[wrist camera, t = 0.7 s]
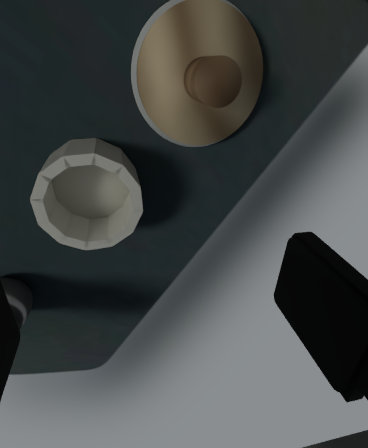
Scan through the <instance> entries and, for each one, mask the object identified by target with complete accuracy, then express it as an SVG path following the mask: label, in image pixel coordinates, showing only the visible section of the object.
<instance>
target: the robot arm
mask: <svg viewBox="0 0 368 448" xmlns="http://www.w3.org/2000/svg"><path fill="white" fill-rule="evenodd" d="M274 300H275V302H276V304H277V306H278V307H279V309H280V310H281V312H282V313H283V315H284V316H285V318H286V319H287V321H288V322H289V323H290V325H291V327H292V328H293V330H294V331H295V333H296V334H297V336H298V337H299V338H300V340H301V341H302V343H303V344H304V346H305V347H306V349H307V350H308V352H309V353H310V355H311V356H312V358H313V359H314V361H315V362H316V364H317V365H318V367H319V368H320V370H321V371H322V373H323V374H324V375H325V377H326V378H327V380H328V382H329V383H330V384H331V386H332V387H333V388H334V390H336V391H337V392H340V393H341V395H342V396H343V398H344V399H345V401H346V402H350V401H355V400H358V399H362V398H363V396H365V397H366V399H367V400H368V280H367V279H366V278H365V277H364V276H363V275H362V274H360V273H359V272H358V271H357V270H356V269H355V268H354V267H352V266H351V265H350V264H349V263H348V262H347V261H345V260H344V259H343V258H342V257H341V256H340V255H338V254H337V253H336V252H335V251H334V250H333V249H331V248H330V247H329V246H328V245H327V244H326V243H324V242H323V241H322V240H321V239H320V238H319V237H317V236H316V235H315V234H314V233H312V232H302V233H295V234H294V235H293V236H292V238H290V239H289V240H288V242H287V247H286V250H285V254H284V258H283V261H282V265H281V269H280V273H279V277H278V281H277V285H276V288H275V292H274ZM19 341H20V331H19V328H18V325H17V323H16V320H15V317H14V315H13V312H12V310H11V307H10V304H9V302H8V299H7V296H6V294H5V291H4V289H3V286H2V283H1V281H0V400H1V397H2V394H3V391H4V388H5V385H6V382H7V379H8V376H9V373H10V370H11V367H12V363H13V360H14V357H15V354H16V351H17V348H18V345H19ZM303 448H368V430H366V431H363V432H359V433H355V434H351V435H348V436H344V437H340V438H336V439H333V440H329V441H325V442H321V443H318V444H314V445H310V446H307V447H303Z"/></svg>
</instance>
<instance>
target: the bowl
mask: <svg viewBox="0 0 368 448" xmlns="http://www.w3.org/2000/svg"><path fill="white" fill-rule="evenodd" d="M30 201H31V204H32V207H33V210H34V213H35V216H36V219H37V222H38V225H39V226H40V227H41V228H42V229H44V230H45V231H46V232H47V233H48V234H49V235H51V236H52V237H53V238H54V239H55V240H56V241H57V242H59V243H61V244H64V245H68V246H72V247H75V248H79V249H83V250H92V249H99V248H106V247H112V246H114V245H115V244H117V243H118V242H120V241H121V240H123V239H124V238H126V237H127V236H129V235H130V234H131V233H132V232H133V231H134V229H135V227H136V225H137V223H138V221H139V219H140V217H141V215H142V213H143V205H142V196H141V187H140V184H139V180H138V176H137V172H136V169H135V167H134V165H133V164H132V163H131V161H130V160H129V159H128V158H127V156H126V155H125V154H124V152H123V151H122V150H121V149H120V148H118V147H116V146H114V145H111V144H109V143H107V142H105V141H102V140H100V139H98V138H90V139H77V140H71V141H68V142H67V143H66V144H64V145H63V146H62V147H60V148H59V149H57V150H56V151H55V152H53V153H52V154H51V155H50V156H49V158H48V159H47V161H46V163H45V164H44V166H43V167H42V169H41V171H40V172H39V174H38V177H37V180H36V183H35V186H34V189H33V192H32V195H31V198H30Z"/></svg>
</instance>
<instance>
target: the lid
mask: <svg viewBox="0 0 368 448" xmlns="http://www.w3.org/2000/svg"><path fill="white" fill-rule="evenodd" d="M136 76H137V87H138V92H139V96H140V99H141V102H142V104H143V107H144V109H145V111H146V113H147V114H148V116H149V117H150V119H151V120H152V121H153V123H154V124H155V125H156V126H157V127H158V128H159V129H160V130H161V131H162V132H163V133H164V134H166V135H167V136H169V137H170V138H172V139H174V140H176V141H178V142H181V143H185V144H189V145H206V144H211V143H215V142H218V141H220V140H222V139H224V138H226V137H228V136H229V135H231V134H232V133H233V132H235V131H236V130H237V129H238V128H239V127H240V126H241V125H242V124H243V123H244V122H245V120H246V119H247V118H248V116H249V115H250V113H251V112H252V110H253V108H254V106H255V104H256V102H257V99H258V96H259V93H260V89H261V85H262V79H263V58H262V52H261V47H260V44H259V41H258V38H257V36H256V34H255V31H254V30H253V28H252V26H251V25H250V23H249V22H248V20H247V19H246V18H245V17H244V16H243V15H242V14H241V13H240V12H239V11H238V10H237V9H235V8H234V7H233V6H231V5H230V4H228V3H225V2H223V1H221V0H185V1H182V2H180V3H178V4H176V5H174V6H173V7H171V8H169V9H168V10H167V11H166V12H164V13H163V14H162V15H161V16H160V17H159V18H158V19H157V20H156V21H155V22H154V24H153V25H152V26H151V28H150V29H149V31H148V32H147V34H146V36H145V38H144V40H143V42H142V45H141V48H140V51H139V55H138V60H137V70H136Z"/></svg>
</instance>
